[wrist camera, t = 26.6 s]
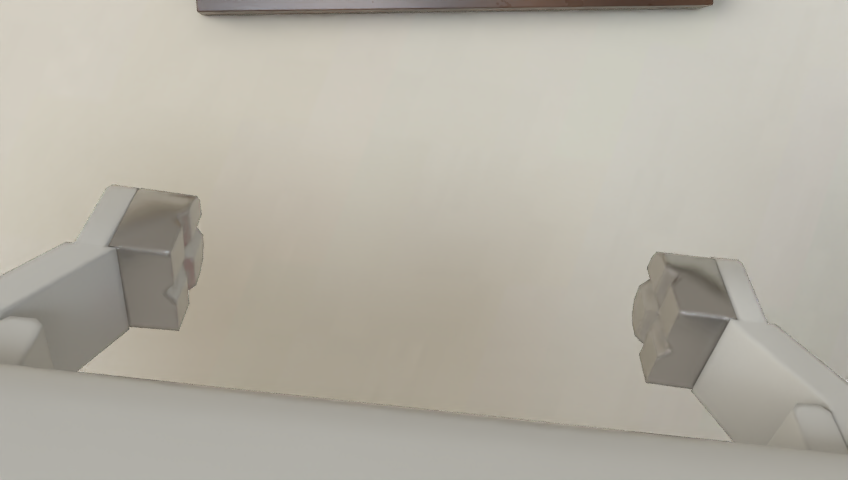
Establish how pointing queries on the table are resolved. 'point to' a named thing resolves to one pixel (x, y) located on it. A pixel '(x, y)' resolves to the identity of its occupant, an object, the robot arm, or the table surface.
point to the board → (427, 5)
